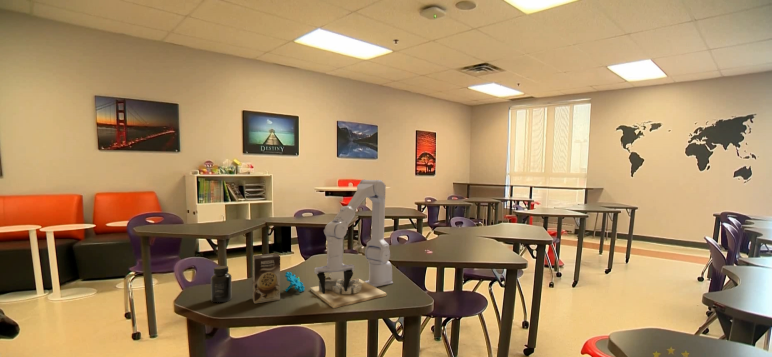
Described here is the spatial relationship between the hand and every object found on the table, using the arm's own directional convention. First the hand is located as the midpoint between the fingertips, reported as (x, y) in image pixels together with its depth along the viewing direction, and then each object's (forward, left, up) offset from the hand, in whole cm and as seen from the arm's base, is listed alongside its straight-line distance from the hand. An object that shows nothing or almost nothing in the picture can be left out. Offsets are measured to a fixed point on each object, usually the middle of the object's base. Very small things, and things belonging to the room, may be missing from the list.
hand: (334, 291), depth 126 cm
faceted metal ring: (-5, -5, -2) cm, 7 cm away
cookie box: (+21, -14, -3) cm, 25 cm away
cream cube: (-12, -23, -3) cm, 27 cm away
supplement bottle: (+35, -22, -3) cm, 42 cm away
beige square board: (-7, -4, -3) cm, 9 cm away
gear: (+9, -18, -3) cm, 20 cm away
